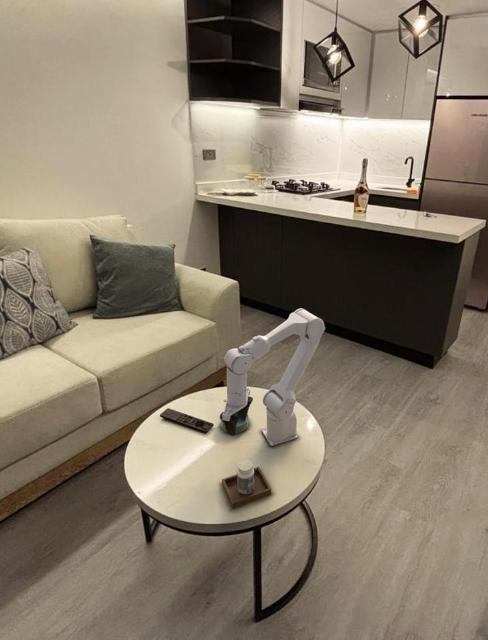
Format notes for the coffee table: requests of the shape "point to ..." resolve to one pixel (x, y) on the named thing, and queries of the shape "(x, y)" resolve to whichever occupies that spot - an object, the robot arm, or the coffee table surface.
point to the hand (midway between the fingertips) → (237, 426)
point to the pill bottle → (245, 477)
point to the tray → (240, 499)
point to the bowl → (238, 424)
